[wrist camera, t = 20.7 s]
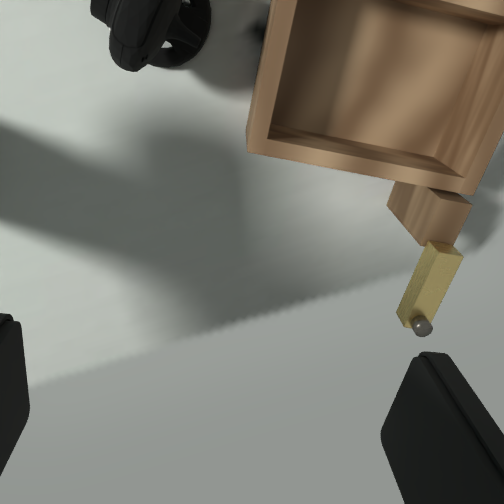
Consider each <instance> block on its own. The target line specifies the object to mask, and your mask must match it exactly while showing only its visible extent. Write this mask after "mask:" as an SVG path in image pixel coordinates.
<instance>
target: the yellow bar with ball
mask: <svg viewBox="0 0 504 504" xmlns="http://www.w3.org/2000/svg"><path fill="white" fill-rule="evenodd" d="M462 259H463V256H462V255H461V254H460V253H459V251H458V250H457V249H456V248H455V247H454V246H453V245H452V244H446V243H440V242H435V241H429V240H428V241H427V244H426V246H425V248H424V250H423V253H422V255H421V257H420V259H419V262H418V264H417V266H416V268H415V271H414V273H413V275H412V277H411V280H410V282H409V284H408V286H407V289H406V291H405V293H404V295H403V298H402V300H401V302H400V304H399V307H398V309H397V311H396V313H397V315H398V317H399V318H400V321H401V322H402V324H403V326H404V327H406V328H412V329H413V330H414V332H415V334H416V335H417V336H419V337H425V336H427V335H429V334H430V333H431V332H432V330H433V327H432V325H431V321H432V320H433V318H434V316H435V314H436V312H437V310H438V307H439V305H440V303H441V302H442V299H443V298H444V295H445V293H446V291H447V289H448V287H449V285H450V283H451V281H452V279H453V277H454V275H455V273H456V271H457V269H458V267H459V265H460V263H461V261H462Z"/></svg>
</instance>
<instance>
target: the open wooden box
mask: <svg viewBox="0 0 504 504" xmlns="http://www.w3.org/2000/svg"><path fill="white" fill-rule="evenodd" d="M503 131H504V0H271V2H270V7H269V12H268V17H267V23H266V28H265V33H264V38H263V43H262V48H261V54H260V59H259V64H258V69H257V74H256V80H255V85H254V90H253V95H252V100H251V105H250V111H249V116H248V121H247V126H246V142H247V152H250V153H255V154H260V155H265V156H270V157H275V158H281V159H286V160H291V161H296V162H301V163H306V164H312V165H317V166H322V167H327V168H332V169H337V170H343V171H348V172H353V173H358V174H363V175H368V176H373V177H379V178H384V179H389V180H394V181H395V184H394V186H393V189H392V192H391V194H390V197H389V200H388V202H387V207H388V208H389V209H390V210H391V211H392V213H393V214H394V215H395V216H396V217H397V219H398V220H399V221H400V222H401V223H402V225H403V226H404V227H405V228H406V229H407V231H408V232H409V233H410V234H411V235H412V237H413V238H414V239H415V240H416V241H417V243H418V244H419V245H420V246H426V244H427V241H428V240H429V241H435V242H440V243H446V244H452V245H454V243H455V241H456V239H457V237H458V235H459V232H460V230H461V228H462V226H463V224H464V222H465V220H466V218H467V216H468V214H469V212H470V209H471V207H472V204H471V203H469V202H468V201H467V200H466V199H464V198H463V197H462V196H460V195H459V194H458V193H461V194H466V195H472V196H473V195H474V193H475V191H476V189H477V186H478V184H479V182H480V180H481V178H482V176H483V174H484V172H485V170H486V167H487V165H488V163H489V161H490V159H491V157H492V155H493V153H494V150H495V148H496V146H497V144H498V142H499V140H500V138H501V136H502V134H503Z"/></svg>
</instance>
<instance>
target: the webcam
mask: <svg viewBox="0 0 504 504" xmlns="http://www.w3.org/2000/svg"><path fill="white" fill-rule="evenodd" d="M189 1H190V4H191V7H187V6H185V5H183V4H182V3H181V2H182V0H91V5H90V11H91V15H93V16H94V17H95V18H97V19H99V20H100V21H102V22H103V23H105V24H106V25H107V27H108V28H109V31H110V37H109V50H110V53H111V57H112V59H113V60H114V62H115V63H116V64H117V65H118V66H119V67H121V68H122V69H124V70H127V71H131V72H137V71H139V70H140V69H141V68H143V67H144V66H146V65H147V64H150V65H152V66H156V67H164V68H169V67H174V66H179V65H181V64H183V63H185V62H187V61H189V60H190V59H192V58H193V57H194V56H196V54H197V53H198V52H199V51H200V50H201V48H202V46H203V45H204V43H205V41H206V39H207V36H208V33H209V29H210V23H211V8H210V2H209V0H189ZM165 41H167V42H169V43H171V45H172V46H173V47H169V48H161V47H162V45H163V44H164V42H165Z"/></svg>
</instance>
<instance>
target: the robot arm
mask: <svg viewBox="0 0 504 504" xmlns="http://www.w3.org/2000/svg"><path fill="white" fill-rule="evenodd" d="M29 411H30V403H29V394H28V384H27V375H26V366H25V356H24V347H23V337H22V328H21V324H20V322H18V321H14V320H13V317H12V315H10V314H3V313H0V476H1V474H2V472H3V469H4V467H5V465H6V463H7V461H8V459H9V457H10V455H11V453H12V451H13V449H14V447H15V445H16V443H17V441H18V439H19V437H20V435H21V433H22V431H23V429H24V427H25V425H26V422H27V420H28V417H29ZM381 442H382V446H383V448H384V451H385V453H386V456H387V458H388V461H389V464H390V466H391V469H392V472H393V474H394V477H395V479H396V482H397V484H398V487H399V490H400V492H401V495H402V498H403V500H404V503H405V504H504V434H503V433H502V432H501V430H500V428H499V427H498V426H497V424H496V423H495V421H494V420H493V418H492V417H491V416H490V414H489V413H488V411H487V410H486V408H485V407H484V405H483V404H482V402H481V401H480V400H479V398H478V397H477V395H476V394H475V392H474V391H473V390H472V388H471V387H470V385H469V384H468V382H467V381H466V379H465V378H464V377H463V375H462V374H461V372H460V371H459V369H458V368H457V366H456V365H455V364H454V362H453V361H452V359H451V358H450V357H449V356H448V355H447V354H445V353H436V352H421V353H420V354H419V356H418V357H414V358H413V359H412V361H411V363H410V366H409V368H408V370H407V372H406V374H405V377H404V379H403V381H402V384H401V386H400V388H399V390H398V392H397V395H396V398H395V399H394V402H393V404H392V406H391V409H390V411H389V413H388V415H387V417H386V420H385V422H384V425H383V426H382V430H381Z"/></svg>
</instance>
